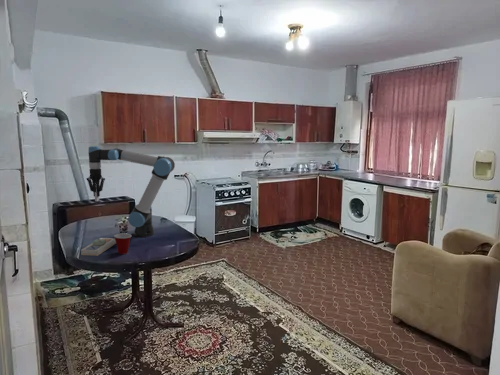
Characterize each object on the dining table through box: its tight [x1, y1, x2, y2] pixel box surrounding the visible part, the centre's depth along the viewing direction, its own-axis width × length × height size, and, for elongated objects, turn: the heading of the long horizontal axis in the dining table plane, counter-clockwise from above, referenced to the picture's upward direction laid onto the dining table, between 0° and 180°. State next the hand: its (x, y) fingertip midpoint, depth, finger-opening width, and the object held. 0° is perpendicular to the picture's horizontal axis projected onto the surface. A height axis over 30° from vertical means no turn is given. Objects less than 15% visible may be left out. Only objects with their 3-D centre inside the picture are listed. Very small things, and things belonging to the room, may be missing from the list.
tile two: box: [91, 238, 106, 245], centre depth 231 cm, size 6×6×2 cm
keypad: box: [80, 237, 116, 257], centre depth 231 cm, size 11×25×3 cm, turn 175°
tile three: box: [86, 246, 100, 250], centre depth 223 cm, size 6×6×2 cm
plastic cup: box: [113, 233, 132, 255], centre depth 224 cm, size 11×11×12 cm
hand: (96, 200), depth 247 cm, fingers closed
